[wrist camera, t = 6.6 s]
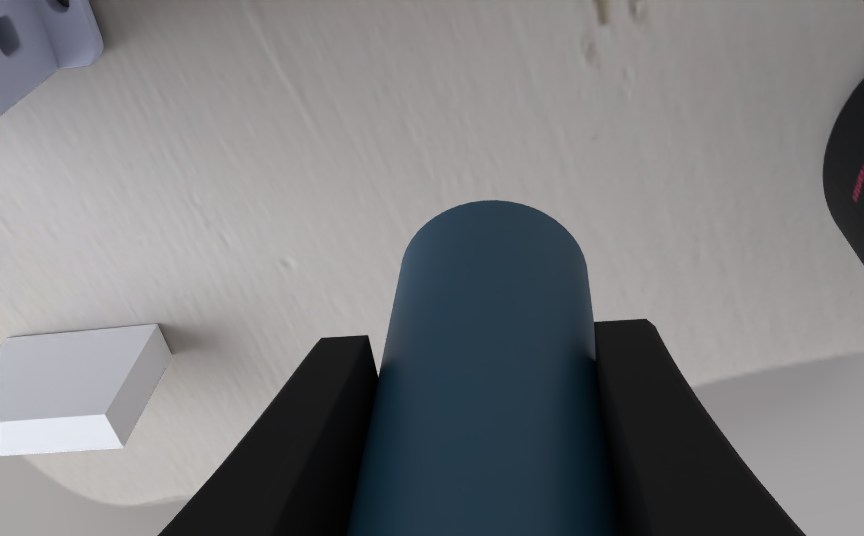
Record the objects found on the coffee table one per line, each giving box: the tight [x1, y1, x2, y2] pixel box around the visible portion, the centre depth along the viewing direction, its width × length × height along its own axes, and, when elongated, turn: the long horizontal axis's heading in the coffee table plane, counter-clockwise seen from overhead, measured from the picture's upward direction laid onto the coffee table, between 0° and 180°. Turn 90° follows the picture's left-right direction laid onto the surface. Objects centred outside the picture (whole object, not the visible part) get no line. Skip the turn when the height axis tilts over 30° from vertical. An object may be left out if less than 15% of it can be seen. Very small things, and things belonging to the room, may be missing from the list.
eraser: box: [0, 324, 172, 456], centre depth 23 cm, size 1×5×4 cm, turn 100°
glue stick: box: [346, 200, 620, 536], centre depth 9 cm, size 3×3×8 cm
